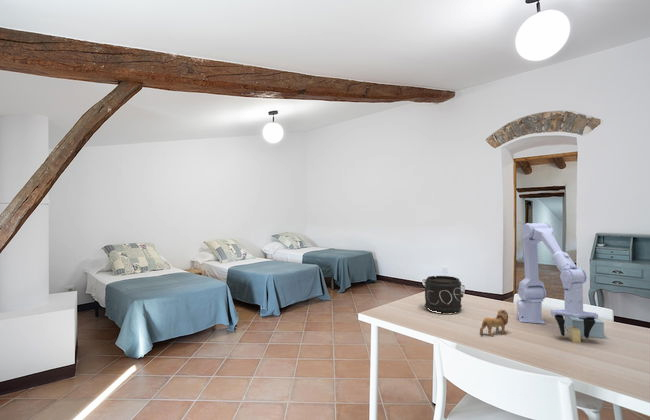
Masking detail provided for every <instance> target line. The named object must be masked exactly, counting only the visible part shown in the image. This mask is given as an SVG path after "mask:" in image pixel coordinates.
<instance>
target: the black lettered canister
mask: <svg viewBox="0 0 650 420" xmlns="http://www.w3.org/2000/svg"><path fill="white" fill-rule="evenodd" d="M424 285H425V287H424V300H425V301H424V302H425V303H424V307H426V309H427V308H429V309H430V310H432V311H437V312H441V313H455V312H459V313H460V311H461V310H462V306H463V305H462V298H464V293H462V282H461V281H460V278H458V277H454V276H449V275H436V276H435V275H432V276H431V275H430V276H427V277H426V279H425V280H424ZM459 310H460V311H459ZM455 314H456V313H455Z"/></svg>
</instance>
